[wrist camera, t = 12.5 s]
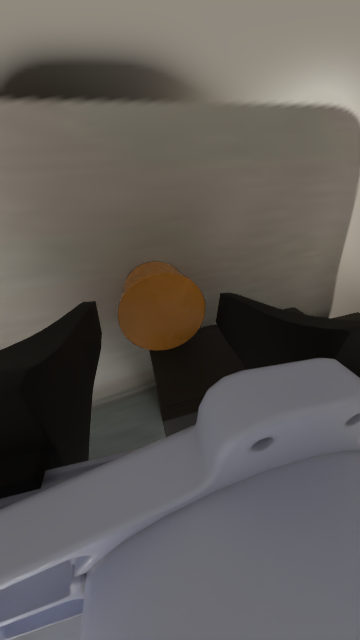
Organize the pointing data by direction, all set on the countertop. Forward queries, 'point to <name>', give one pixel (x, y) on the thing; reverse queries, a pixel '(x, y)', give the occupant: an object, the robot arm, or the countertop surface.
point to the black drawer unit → (192, 375)
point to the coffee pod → (160, 307)
